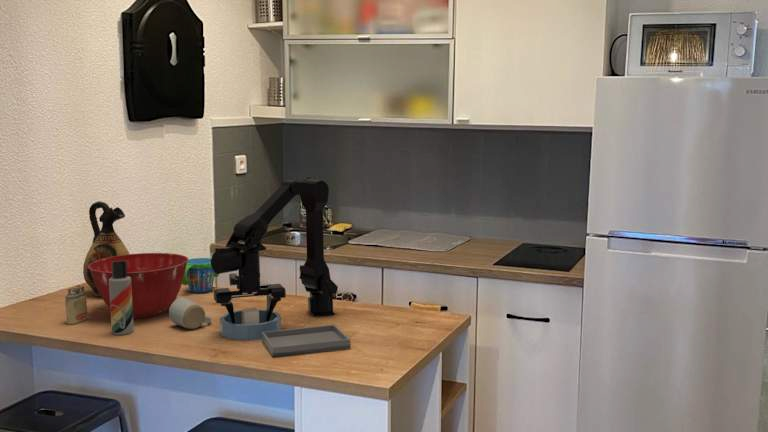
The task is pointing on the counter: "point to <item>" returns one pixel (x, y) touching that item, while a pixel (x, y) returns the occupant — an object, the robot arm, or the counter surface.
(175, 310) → the ceramic mug
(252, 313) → the beige rectangular block
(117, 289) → the lotion bottle
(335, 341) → the tray
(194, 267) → the snack cup
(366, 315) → the counter surface
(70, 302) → the lighter
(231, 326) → the blue ring
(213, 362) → the counter surface
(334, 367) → the counter surface
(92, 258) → the ceramic jug
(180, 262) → the mixing bowl
